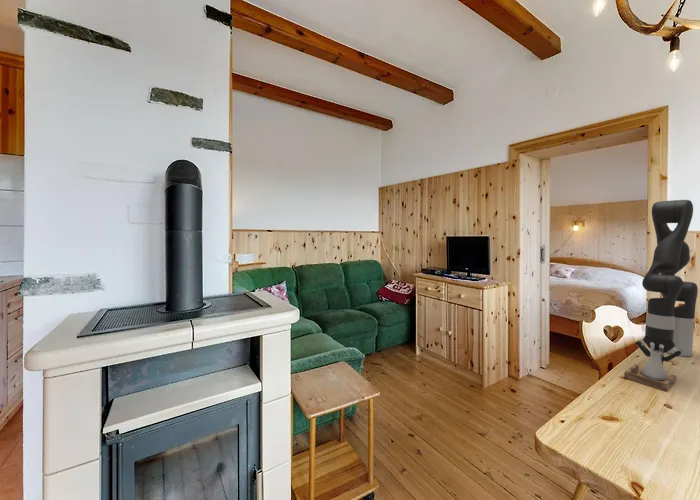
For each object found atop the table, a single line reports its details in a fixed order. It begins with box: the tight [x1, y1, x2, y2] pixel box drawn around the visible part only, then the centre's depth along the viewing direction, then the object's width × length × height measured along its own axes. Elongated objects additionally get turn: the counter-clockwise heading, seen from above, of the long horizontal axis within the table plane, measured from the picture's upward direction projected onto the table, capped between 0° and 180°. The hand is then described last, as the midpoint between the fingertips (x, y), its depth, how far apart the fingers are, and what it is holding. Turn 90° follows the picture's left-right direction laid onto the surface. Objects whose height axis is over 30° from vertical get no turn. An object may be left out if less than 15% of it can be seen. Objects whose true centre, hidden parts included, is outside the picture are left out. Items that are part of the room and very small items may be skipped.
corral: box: [623, 363, 676, 392], centre depth 108 cm, size 12×11×2 cm
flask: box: [640, 349, 669, 382], centre depth 111 cm, size 7×7×10 cm
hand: (656, 368), depth 113 cm, fingers closed
